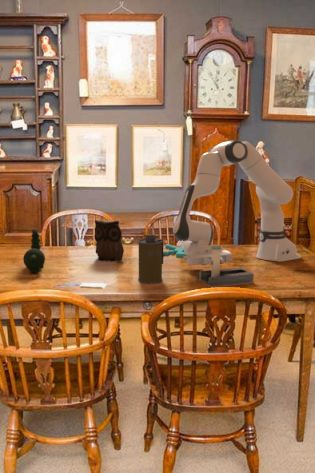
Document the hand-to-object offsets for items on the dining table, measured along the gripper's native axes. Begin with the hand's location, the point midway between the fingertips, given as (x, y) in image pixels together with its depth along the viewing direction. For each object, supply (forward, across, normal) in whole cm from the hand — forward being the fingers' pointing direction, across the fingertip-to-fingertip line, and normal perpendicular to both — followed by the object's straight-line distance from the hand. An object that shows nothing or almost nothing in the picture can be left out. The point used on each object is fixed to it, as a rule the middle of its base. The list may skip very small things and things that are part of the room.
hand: (216, 262), depth 213 cm
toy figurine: (-45, -70, +9) cm, 84 cm away
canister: (-13, -25, +9) cm, 30 cm away
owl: (-54, -32, +9) cm, 63 cm away
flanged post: (-1, 0, +8) cm, 8 cm away
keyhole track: (-1, +5, +9) cm, 10 cm away
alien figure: (-55, +6, +10) cm, 56 cm away
